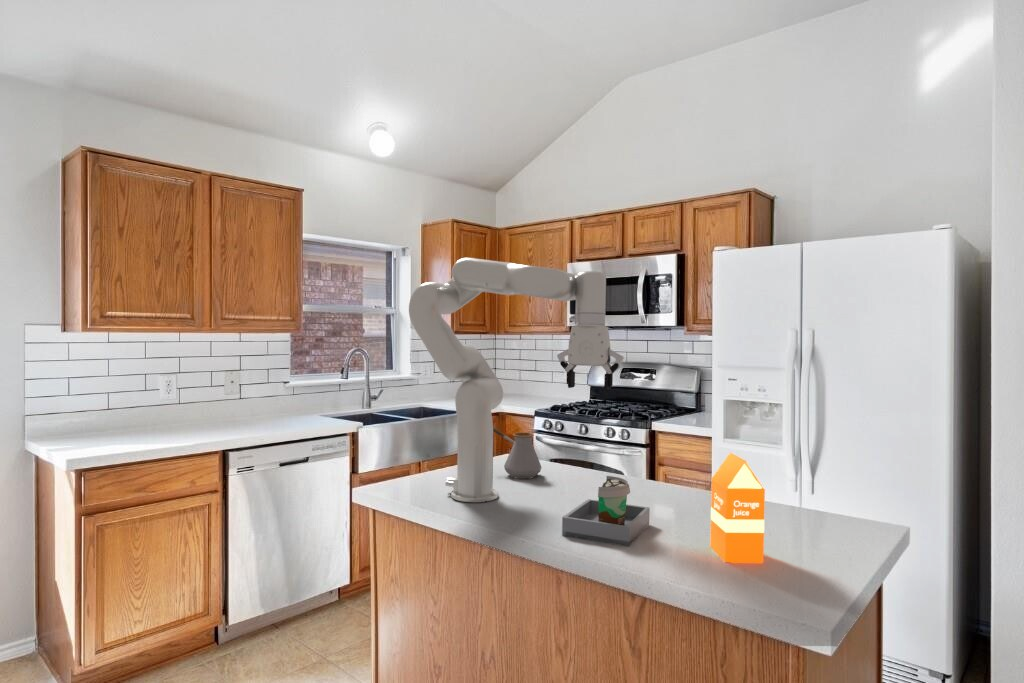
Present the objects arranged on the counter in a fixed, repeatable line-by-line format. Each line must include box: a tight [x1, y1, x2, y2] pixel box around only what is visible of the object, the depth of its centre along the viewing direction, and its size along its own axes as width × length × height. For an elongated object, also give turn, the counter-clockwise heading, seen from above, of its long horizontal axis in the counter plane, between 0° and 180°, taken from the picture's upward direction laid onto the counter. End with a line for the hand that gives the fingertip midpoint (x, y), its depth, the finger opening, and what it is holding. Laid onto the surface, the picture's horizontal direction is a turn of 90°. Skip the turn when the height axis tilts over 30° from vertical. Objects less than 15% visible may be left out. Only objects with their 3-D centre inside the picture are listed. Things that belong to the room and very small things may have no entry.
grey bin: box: [561, 498, 651, 547], centre depth 143 cm, size 15×17×4 cm
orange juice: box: [709, 452, 766, 564], centre depth 128 cm, size 8×9×20 cm
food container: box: [597, 475, 631, 525], centre depth 143 cm, size 12×6×10 cm, turn 163°
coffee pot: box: [493, 427, 542, 479], centre depth 198 cm, size 21×12×15 cm, turn 55°
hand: (589, 388), depth 161 cm, fingers open, 9 cm apart
